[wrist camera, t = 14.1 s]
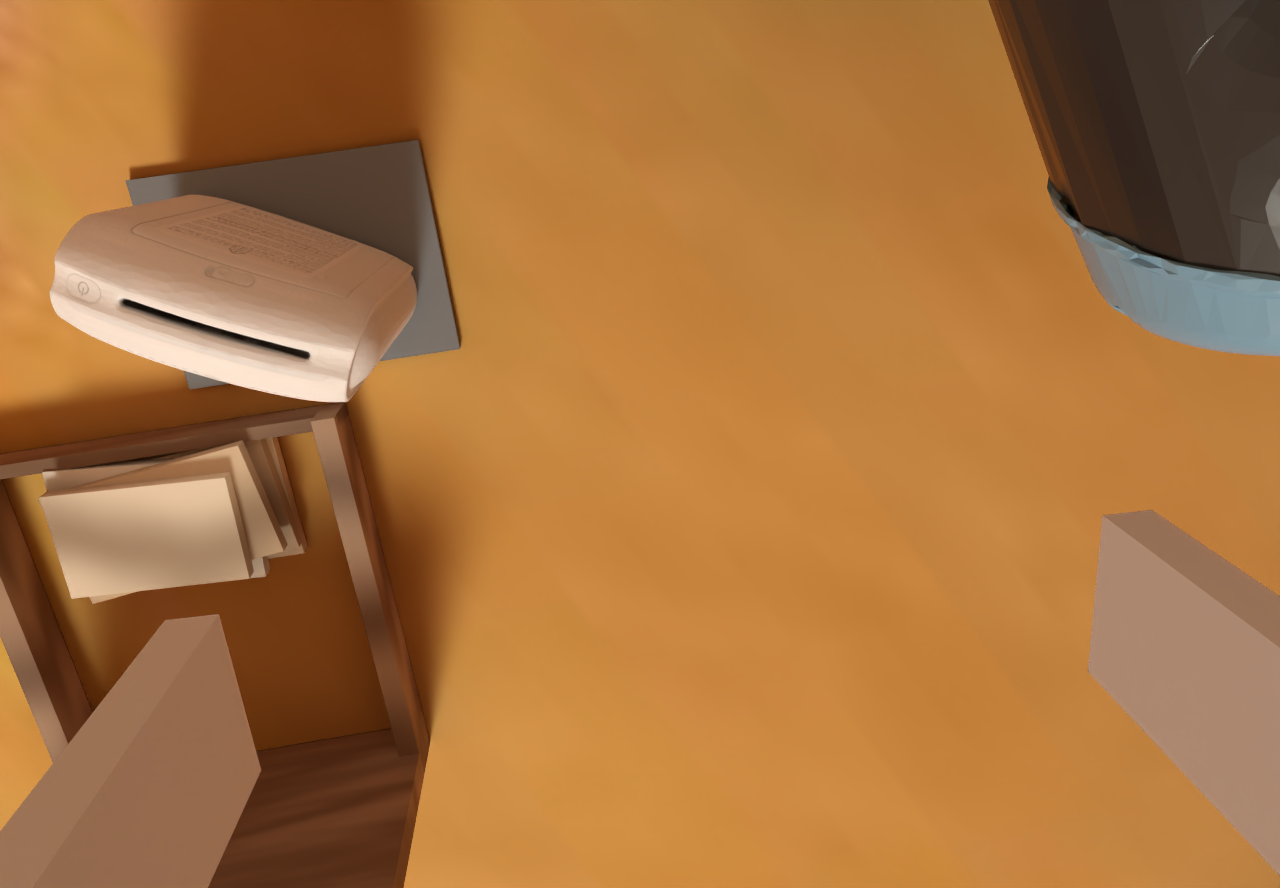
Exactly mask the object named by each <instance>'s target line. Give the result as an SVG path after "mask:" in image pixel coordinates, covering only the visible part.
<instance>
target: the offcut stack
mask: <svg viewBox="0 0 1280 888" xmlns="http://www.w3.org/2000/svg"><path fill="white" fill-rule="evenodd" d="M42 474H43V477H44V481H45V485H46V488H47V492H46V493H45V494H43V495H42V496H41V497H39V498H40V500H38V501H39V503H40V505H41V507H42V508H43V510H44V513H45V516H46V520H47V523H48V526H49V529H50V532H51V535H52V539H53V542H54V545H55V548H56V551H57V554H58V557H59V561H60V564H61V567H62V570H63V573H64V576H65V580H66V583H67V586H68V589H69V592H70V595H71V598H72V599H74V598H83V597H89V598H90V599H91V601H92V603H93V604H95V603H98V602H102V601H106V600H109V599H113V598H116V597H120V596H124V595H127V594H131V593H134V592H138V591H145V590H154V589H163V588H172V587H181V586H189V585H198V584H207V583H216V582H225V581H234V580H243V579H250V578H257V577H266V576H267V574H268V573H269V571H270V566H269V561H268V559H272V558H278V557H284V556H291V555H297V554H303V553H305V551H306V549H307V547H308V546H307V542H306V539H305V535H304V532H303V528H302V525H301V521H300V517H299V514H298V510H297V507H296V503H295V499H294V496H293V492H292V489H291V485H290V481H289V478H288V474H287V471H286V467H285V463H284V460H283V456H282V453H281V449H280V445H279V442H278V438H277V437H273V438H267V439H260V440H254V441H247V442H243V440H242V441H238V442H234V443H231V444H227V445H221V446H215V447H208V448H201V449H195V450H188V451H182V452H175V453H169V454H162V455H156V456H149V457H143V458H136V459H130V460H123V461H117V462H110V463H104V464H97V465H91V466H84V467H78V468H71V469H65V470H57V471H44V472H42Z"/></svg>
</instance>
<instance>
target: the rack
mask: <svg viewBox="0 0 1280 888" xmlns="http://www.w3.org/2000/svg"><path fill="white" fill-rule="evenodd" d="M312 431H313V433H314V436H315V440H316V444H317V448H318V452H319V455H320V459H321V463H322V467H323V471H324V474H325V478H326V482H327V486H328V490H329V493H330V497H331V501H332V505H333V508H334V512H335V516H336V520H337V524H338V527H339V531H340V535H341V539H342V543H343V546H344V550H345V554H346V558H347V562H348V565H349V569H350V573H351V577H352V580H353V584H354V588H355V592H356V596H357V599H358V603H359V607H360V611H361V615H362V618H363V622H364V626H365V630H366V634H367V637H368V641H369V645H370V649H371V652H372V656H373V660H374V664H375V668H376V671H377V675H378V679H379V683H380V687H381V690H382V694H383V698H384V702H385V706H386V709H387V713H388V717H389V721H390V724H391V728H392V729H386V730H380V731H374V732H368V733H362V734H356V735H351V736H345V737H339V738H333V739H327V740H321V741H315V742H309V743H303V744H297V745H291V746H286V747H280V748H274V749H268V750H262V751H256V753H257V756H258V760H259V764H260V767H261V772H260V774H259V776H258V779H257V781H256V783H255V785H254V787H253V790H252V792H251V794H250V796H249V798H248V801H247V803H246V805H245V807H244V809H243V812H242V814H241V816H240V818H239V820H238V823H237V825H236V827H235V829H234V831H233V834H232V836H231V838H230V840H229V842H228V845H227V847H226V849H225V851H224V853H223V856H222V858H221V860H220V862H219V864H218V866H217V869H216V871H215V873H214V875H213V877H212V880H211V882H210V884H209V886H208V888H403V887H404V882H405V876H406V871H407V865H408V860H409V854H410V849H411V843H412V838H413V832H414V827H415V822H416V816H417V811H418V805H419V800H420V794H421V789H422V783H423V778H424V772H425V767H426V762H427V756H428V751H429V745H430V740H429V736H428V731H427V727H426V723H425V719H424V715H423V711H422V707H421V703H420V699H419V695H418V691H417V687H416V683H415V679H414V675H413V671H412V667H411V663H410V659H409V655H408V651H407V647H406V643H405V639H404V635H403V631H402V627H401V623H400V619H399V615H398V611H397V607H396V603H395V599H394V595H393V591H392V587H391V583H390V579H389V575H388V571H387V567H386V563H385V559H384V555H383V551H382V546H381V542H380V538H379V534H378V530H377V526H376V522H375V518H374V514H373V510H372V506H371V502H370V498H369V494H368V490H367V486H366V482H365V478H364V474H363V470H362V466H361V462H360V458H359V454H358V450H357V446H356V442H355V438H354V434H353V430H352V426H351V422H350V418H349V414H348V410H347V406H346V402H338V403H332V404H325V405H319V406H312V407H306V408H299V409H292V410H286V411H279V412H273V413H266V414H259V415H253V416H246V417H240V418H233V419H227V420H220V421H213V422H207V423H200V424H194V425H187V426H181V427H174V428H167V429H161V430H154V431H148V432H141V433H135V434H128V435H121V436H115V437H108V438H102V439H95V440H89V441H82V442H75V443H69V444H62V445H56V446H49V447H42V448H36V449H29V450H23V451H16V452H10V453H3V454H0V637H1V639H2V641H3V644H4V646H5V649H6V651H7V653H8V656H9V658H10V661H11V663H12V665H13V668H14V670H15V673H16V675H17V677H18V680H19V682H20V685H21V687H22V689H23V692H24V694H25V697H26V699H27V701H28V704H29V706H30V709H31V711H32V713H33V716H34V718H35V721H36V723H37V725H38V728H39V730H40V733H41V735H42V737H43V740H44V742H45V745H46V747H47V749H48V752H49V754H50V757H51V759H52V761H53V763H54V762H55V761H56V759H57V758H58V757H59V755H60V754H61V753H62V752H63V750H64V749H65V748H66V746H67V745H68V744H69V743H70V741H71V740H72V739H73V737H74V736H75V735H76V734H77V732H78V731H79V730H80V728H81V727H82V726H83V725H84V723H85V722H86V721H87V719H88V718H89V717H90V716H91V714H92V710H91V708H90V705H89V702H88V700H87V697H86V695H85V692H84V690H83V687H82V685H81V682H80V679H79V677H78V674H77V672H76V669H75V667H74V664H73V662H72V659H71V656H70V654H69V651H68V649H67V646H66V644H65V641H64V638H63V636H62V633H61V631H60V628H59V626H58V623H57V621H56V618H55V615H54V613H53V610H52V608H51V605H50V603H49V600H48V598H47V595H46V592H45V590H44V587H43V585H42V582H41V580H40V577H39V575H38V572H37V569H36V567H35V564H34V562H33V559H32V557H31V554H30V551H29V549H28V546H27V544H26V541H25V539H24V536H23V534H22V531H21V528H20V526H19V523H18V521H17V518H16V516H15V513H14V511H13V508H12V505H11V503H10V500H9V498H8V495H7V493H6V490H5V488H4V485H3V482H2V480H1V479H6V478H12V477H19V476H25V475H32V474H38V473H42V472H44V471H57V470H65V469H71V468H78V467H84V466H91V465H97V464H104V463H110V462H117V461H123V460H130V459H136V458H143V457H149V456H156V455H162V454H169V453H175V452H182V451H188V450H195V449H201V448H208V447H215V446H221V445H227V444H231V443H234V442H238V441H242V440H243V442H247V441H254V440H260V439H267V438H273V437H280V436H286V435H293V434H299V433H306V432H312Z"/></svg>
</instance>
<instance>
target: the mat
mask: <svg viewBox="0 0 1280 888" xmlns="http://www.w3.org/2000/svg"><path fill="white" fill-rule="evenodd" d="M126 184H127V187H128V190H129V193H130V197H131V200H132V203H133V206H136V205H141V204H146V203H151V202H156V201H161V200H166V199H171V198H175V197H181V196H185V195H191V194H193V195H204V196H211V197H217V198H221V199H226V200H229V201H233V202H236V203H240V204H243V205H247V206H250V207H254V208H257V209H260V210H263V211H267V212H270V213H273V214H277V215H280V216H283V217H286V218H289V219H292V220H295V221H298V222H301V223H304V224H307V225H310V226H313V227H316V228H319V229H322V230H325V231H328V232H331V233H334V234H336V235H339V236H342V237H345V238H348V239H351V240H356V241H357V242H360V243H362V244H365V245H368V246H371V247H373V248H376V249H379V250H381V251H384V252H386V253H388V254H390V255H392V256H395V257H397V258H398V259H400V260H402V261H404V262H406V263H407V264H409V265H410V266H412V267H413V270H412V272H411V275H412V276H413V278H414V281H415V284H416V290H417V302H416V307H415V310H414V313H413V315H412V317H411V318H410V320H409V321H408V323H407V324H406V325H405V327H404V328H403V330H402V331H401V332H400V334H399V335H398V336H397V338H396V339H395V340H394V341H393V343H392V344H391V346H390V347H389V348H388V350H387V351H386V352H385V354H384V355H383V357H382V358H381V359H380V361H383V360H390V359H397V358H403V357H410V356H417V355H423V354H430V353H436V352H443V351H450V350H456V349H460V342H459V337H458V332H457V327H456V322H455V317H454V312H453V307H452V302H451V297H450V292H449V287H448V282H447V277H446V272H445V267H444V262H443V257H442V252H441V247H440V242H439V237H438V232H437V227H436V222H435V217H434V212H433V207H432V202H431V197H430V192H429V187H428V182H427V177H426V172H425V167H424V162H423V158H422V153H421V148H420V143H419V140H413V141H406V142H399V143H392V144H384V145H377V146H370V147H363V148H356V149H349V150H341V151H334V152H327V153H320V154H313V155H305V156H298V157H291V158H284V159H277V160H270V161H262V162H255V163H248V164H241V165H234V166H226V167H219V168H212V169H205V170H198V171H190V172H183V173H176V174H169V175H162V176H155V177H147V178H140V179H133V180H126ZM184 373H185V376H186V379H187V383H188V386H189V389H197V388H204V387H210V386H217V385H224V384H230V383H226V382H222V381H218V380H215V379H211V378H208V377H204V376H201V375H198V374H194V373H191V372H187V371H184Z"/></svg>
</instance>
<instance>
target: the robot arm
mask: <svg viewBox="0 0 1280 888" xmlns="http://www.w3.org/2000/svg"><path fill="white" fill-rule="evenodd" d="M989 3H990V6H991V9H992V12H993V15H994V18H995V21H996V24H997V27H998V29H999V32H1000V35H1001V38H1002V41H1003V44H1004V47H1005V50H1006V53H1007V56H1008V58H1009V61H1010V64H1011V67H1012V70H1013V73H1014V76H1015V79H1016V82H1017V85H1018V87H1019V90H1020V93H1021V96H1022V99H1023V102H1024V105H1025V108H1026V111H1027V114H1028V116H1029V119H1030V122H1031V125H1032V128H1033V131H1034V134H1035V137H1036V140H1037V142H1038V145H1039V148H1040V151H1041V154H1042V157H1043V160H1044V163H1045V166H1046V169H1047V171H1048V174H1049V179H1048V186H1047V188H1048V192H1049V195H1050V198H1051V201H1052V203H1053V206H1054V208H1055V209H1056V211H1057V212H1058V214H1059V215H1060V217H1061V218H1062V219H1063V220H1064V221H1065V222H1066V223H1067V224H1068V225H1069V226H1070V227H1071V230H1072V232H1073V234H1074V237H1075V239H1076V242H1077V244H1078V246H1079V249H1080V251H1081V254H1082V256H1083V258H1084V261H1085V263H1086V266H1087V268H1088V270H1089V273H1090V275H1091V277H1092V280H1093V282H1094V284H1095V286H1096V288H1097V289H1098V291H1099V292H1100V294H1101V295H1102V296H1103V298H1104V299H1105V300H1106V301H1107V302H1108V303H1109V305H1110V306H1112V307H1113V308H1114V309H1115V310H1117V311H1119V312H1121V313H1123V314H1125V315H1127V316H1129V317H1130V318H1131V319H1132V320H1133V321H1134V322H1135V323H1137V324H1139V325H1140V326H1141V327H1142V328H1143V329H1145V330H1147V331H1149V332H1151V333H1153V334H1156V335H1158V336H1161V337H1164V338H1166V339H1170V340H1173V341H1176V342H1179V343H1183V344H1187V345H1190V346H1194V347H1199V348H1204V349H1209V350H1215V351H1221V352H1229V353H1237V354H1249V355H1266V356H1280V0H989ZM1088 672H1089V673H1090V674H1091V675H1092V676H1093V678H1094V679H1095V680H1096V681H1097V682H1098V683H1099V684H1100V685H1101V686H1102V687H1103V688H1104V689H1105V690H1106V691H1107V692H1108V694H1109V695H1110V696H1111V697H1112V698H1113V699H1114V700H1115V701H1116V702H1117V703H1118V704H1119V705H1120V706H1121V707H1122V708H1123V709H1124V711H1125V712H1126V713H1127V714H1128V715H1129V716H1130V717H1131V718H1132V719H1133V720H1134V721H1135V722H1136V723H1137V724H1138V725H1139V727H1140V728H1141V729H1142V730H1143V731H1144V732H1145V733H1146V734H1147V735H1148V736H1149V737H1150V738H1151V739H1152V740H1153V741H1154V742H1155V744H1156V745H1157V746H1158V747H1159V748H1160V749H1161V750H1162V751H1163V752H1164V753H1165V754H1166V755H1167V756H1168V757H1169V758H1170V760H1171V761H1172V762H1173V763H1174V764H1175V765H1176V766H1177V767H1178V768H1179V769H1180V770H1181V771H1182V772H1183V773H1184V774H1185V776H1186V777H1187V778H1188V779H1189V780H1190V781H1191V782H1192V783H1193V784H1194V785H1195V786H1196V787H1197V788H1198V789H1199V790H1200V791H1201V793H1202V794H1203V795H1204V796H1205V797H1206V798H1207V799H1208V800H1209V801H1210V802H1211V803H1212V804H1213V805H1214V806H1215V807H1216V809H1217V810H1218V811H1219V812H1220V813H1221V814H1222V815H1223V816H1224V817H1225V818H1226V819H1227V820H1228V821H1229V822H1230V823H1231V824H1232V826H1233V827H1234V828H1235V829H1236V830H1237V831H1238V832H1239V833H1240V834H1241V835H1242V836H1243V837H1244V838H1245V839H1246V840H1247V842H1248V843H1249V844H1250V845H1251V846H1252V847H1253V848H1254V849H1255V850H1256V851H1257V852H1258V853H1259V854H1260V855H1261V856H1262V858H1263V859H1264V860H1265V861H1266V862H1267V863H1268V864H1269V865H1270V866H1271V867H1272V868H1273V869H1274V870H1275V871H1276V872H1277V873H1278V875H1279V876H1280V596H1279V595H1277V594H1276V593H1274V592H1273V591H1271V590H1270V589H1268V588H1267V587H1265V586H1264V585H1262V584H1261V583H1259V582H1258V581H1256V580H1255V579H1253V578H1252V577H1250V576H1249V575H1247V574H1246V573H1245V572H1243V571H1242V570H1240V569H1239V568H1237V567H1236V566H1234V565H1233V564H1231V563H1230V562H1228V561H1227V560H1225V559H1224V558H1222V557H1221V556H1219V555H1218V554H1216V553H1215V552H1213V551H1212V550H1210V549H1209V548H1208V547H1206V546H1205V545H1203V544H1202V543H1200V542H1199V541H1197V540H1196V539H1194V538H1193V537H1191V536H1190V535H1188V534H1187V533H1185V532H1184V531H1182V530H1181V529H1179V528H1178V527H1176V526H1175V525H1173V524H1172V523H1171V522H1169V521H1168V520H1166V519H1165V518H1163V517H1162V516H1160V515H1159V514H1157V513H1156V512H1154V511H1153V510H1146V511H1137V512H1128V513H1119V514H1110V515H1103V517H1102V527H1101V538H1100V549H1099V559H1098V570H1097V580H1096V591H1095V602H1094V612H1093V623H1092V633H1091V644H1090V654H1089V665H1088ZM260 772H261V767H260V764H259V760H258V756H257V753H256V749H255V745H254V742H253V738H252V734H251V730H250V727H249V723H248V719H247V716H246V712H245V708H244V705H243V701H242V697H241V694H240V690H239V686H238V682H237V679H236V675H235V671H234V668H233V664H232V660H231V657H230V653H229V649H228V645H227V642H226V638H225V634H224V631H223V627H222V623H221V620H220V616H219V614H214V615H206V616H197V617H188V618H179V619H170V620H165V621H164V622H163V623H162V624H161V626H160V627H159V628H158V630H157V631H156V632H155V633H154V635H153V636H152V637H151V639H150V640H149V641H148V642H147V644H146V645H145V646H144V648H143V649H142V650H141V651H140V653H139V654H138V655H137V657H136V658H135V659H134V660H133V662H132V663H131V664H130V666H129V667H128V668H127V669H126V671H125V672H124V673H123V675H122V676H121V677H120V678H119V680H118V681H117V682H116V684H115V685H114V686H113V687H112V689H111V690H110V691H109V693H108V694H107V695H106V696H105V698H104V699H103V700H102V702H101V703H100V704H99V705H98V707H97V708H96V709H95V711H94V712H93V713H92V714H91V716H90V717H89V718H88V719H87V721H86V722H85V723H84V725H83V726H82V727H81V728H80V730H79V731H78V732H77V734H76V735H75V736H74V737H73V739H72V740H71V741H70V743H69V744H68V745H67V746H66V748H65V749H64V750H63V752H62V753H61V754H60V755H59V757H58V758H57V759H56V761H55V762H54V763H53V764H52V766H51V767H50V768H49V770H48V771H47V772H46V773H45V775H44V776H43V777H42V779H41V780H40V781H39V782H38V784H37V785H36V786H35V788H34V789H33V790H32V791H31V793H30V794H29V795H28V797H27V798H26V799H25V800H24V802H23V803H22V804H21V806H20V807H19V808H18V809H17V811H16V812H15V813H14V815H13V816H12V817H11V818H10V820H9V821H8V822H7V824H6V825H5V826H4V827H3V829H2V830H1V831H0V888H208V886H209V884H210V882H211V880H212V877H213V875H214V873H215V871H216V869H217V866H218V864H219V862H220V860H221V858H222V856H223V853H224V851H225V849H226V847H227V845H228V842H229V840H230V838H231V836H232V834H233V831H234V829H235V827H236V825H237V823H238V820H239V818H240V816H241V814H242V812H243V809H244V807H245V805H246V803H247V801H248V798H249V796H250V794H251V792H252V790H253V787H254V785H255V783H256V781H257V779H258V776H259V774H260Z"/></svg>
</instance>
